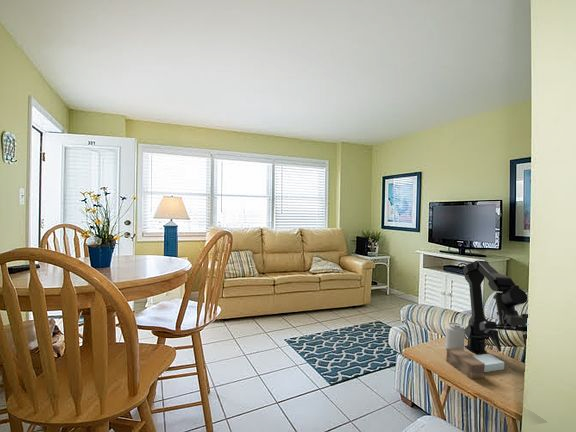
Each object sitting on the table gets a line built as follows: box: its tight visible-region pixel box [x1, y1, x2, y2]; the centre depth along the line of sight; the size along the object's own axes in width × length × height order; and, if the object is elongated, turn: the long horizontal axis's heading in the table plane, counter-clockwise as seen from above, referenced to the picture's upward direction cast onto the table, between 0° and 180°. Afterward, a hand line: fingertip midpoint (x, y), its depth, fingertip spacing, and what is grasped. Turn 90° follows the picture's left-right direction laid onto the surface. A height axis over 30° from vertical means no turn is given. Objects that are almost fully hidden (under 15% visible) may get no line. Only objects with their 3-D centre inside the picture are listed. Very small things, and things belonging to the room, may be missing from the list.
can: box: [444, 321, 466, 351], centre depth 140 cm, size 8×8×12 cm
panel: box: [472, 353, 505, 373], centre depth 128 cm, size 7×12×3 cm, turn 104°
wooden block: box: [445, 347, 485, 380], centre depth 125 cm, size 13×6×6 cm, turn 14°
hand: (514, 352), depth 110 cm, fingers open, 9 cm apart
